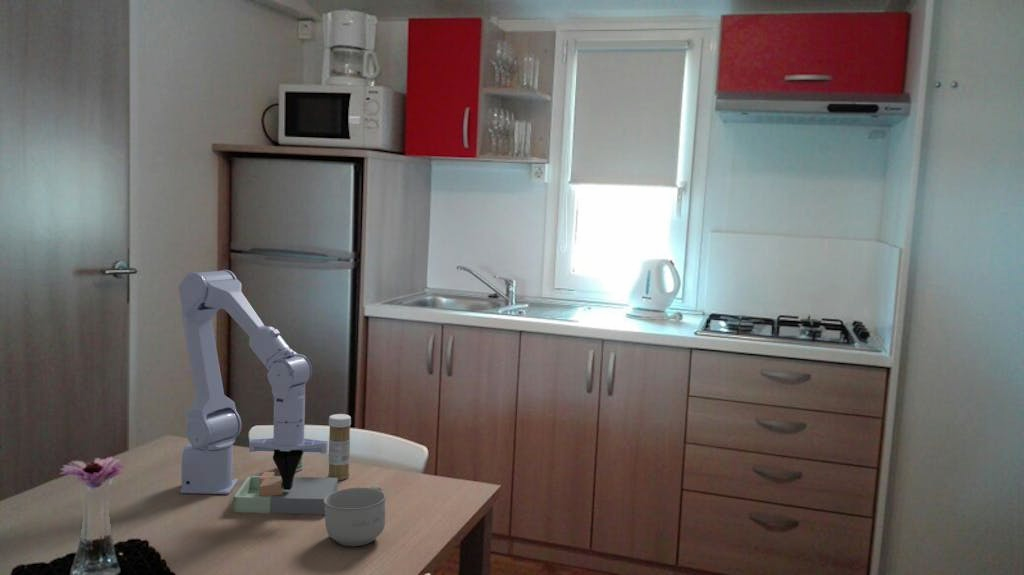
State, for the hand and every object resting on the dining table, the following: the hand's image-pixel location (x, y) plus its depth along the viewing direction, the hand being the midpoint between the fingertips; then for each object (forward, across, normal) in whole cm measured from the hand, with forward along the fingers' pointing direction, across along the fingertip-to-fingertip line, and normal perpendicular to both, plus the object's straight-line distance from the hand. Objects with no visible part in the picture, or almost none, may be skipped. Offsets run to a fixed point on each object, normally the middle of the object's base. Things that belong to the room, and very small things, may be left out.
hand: (288, 488), depth 164 cm
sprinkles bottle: (+4, +7, +18) cm, 20 cm away
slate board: (+4, +3, +3) cm, 5 cm away
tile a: (+1, -4, +5) cm, 7 cm away
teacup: (+4, +15, -13) cm, 21 cm away
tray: (+4, -6, +3) cm, 8 cm away
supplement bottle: (+4, -4, +23) cm, 23 cm away
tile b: (+1, -3, 0) cm, 3 cm away
